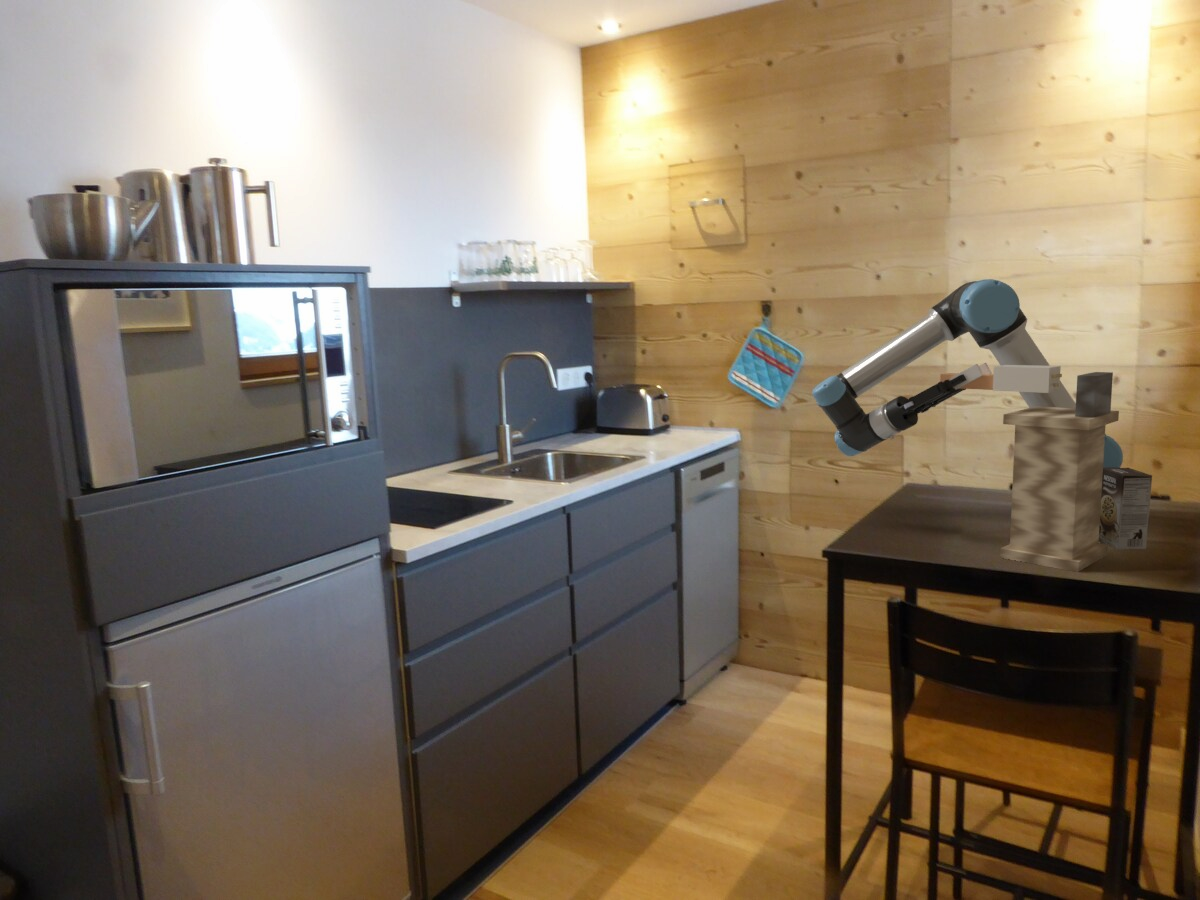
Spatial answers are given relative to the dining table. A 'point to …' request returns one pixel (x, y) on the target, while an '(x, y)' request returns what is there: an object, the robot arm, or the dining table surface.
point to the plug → (1016, 379)
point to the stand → (1060, 478)
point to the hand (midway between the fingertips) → (983, 369)
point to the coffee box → (1125, 508)
